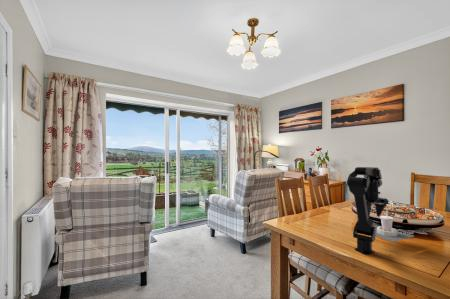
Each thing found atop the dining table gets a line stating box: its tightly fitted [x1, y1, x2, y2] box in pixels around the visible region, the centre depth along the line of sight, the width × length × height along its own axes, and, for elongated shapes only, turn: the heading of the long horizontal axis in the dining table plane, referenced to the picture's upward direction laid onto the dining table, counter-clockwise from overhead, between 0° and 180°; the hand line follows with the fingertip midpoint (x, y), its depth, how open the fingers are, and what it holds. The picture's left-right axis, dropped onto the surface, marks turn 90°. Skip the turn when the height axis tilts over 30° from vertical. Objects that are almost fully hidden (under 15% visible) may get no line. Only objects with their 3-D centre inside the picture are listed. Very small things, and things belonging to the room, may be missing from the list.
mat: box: [375, 227, 414, 243], centre depth 128 cm, size 20×18×1 cm
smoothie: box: [379, 210, 394, 232], centre depth 128 cm, size 6×6×14 cm
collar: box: [376, 225, 398, 237], centre depth 128 cm, size 10×10×2 cm
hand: (372, 217), depth 119 cm, fingers open, 9 cm apart
